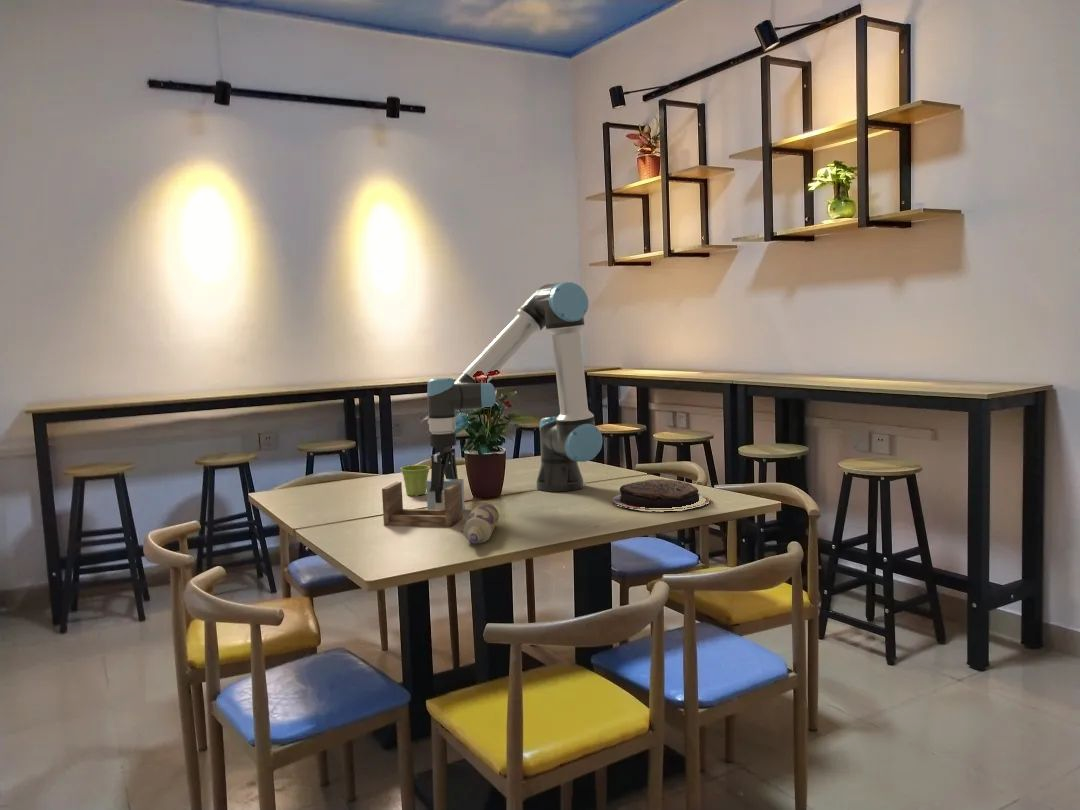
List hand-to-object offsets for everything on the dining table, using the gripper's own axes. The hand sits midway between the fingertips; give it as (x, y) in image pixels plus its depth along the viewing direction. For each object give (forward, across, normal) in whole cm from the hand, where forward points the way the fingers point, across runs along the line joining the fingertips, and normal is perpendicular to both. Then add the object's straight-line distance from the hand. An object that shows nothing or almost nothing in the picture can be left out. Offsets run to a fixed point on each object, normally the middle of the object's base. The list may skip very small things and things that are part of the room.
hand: (445, 509), depth 242 cm
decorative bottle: (+1, +30, +18) cm, 35 cm away
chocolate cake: (+1, -15, +60) cm, 62 cm away
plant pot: (0, -23, -18) cm, 29 cm away
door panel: (0, 0, 0) cm, 0 cm away
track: (0, +14, -1) cm, 14 cm away
